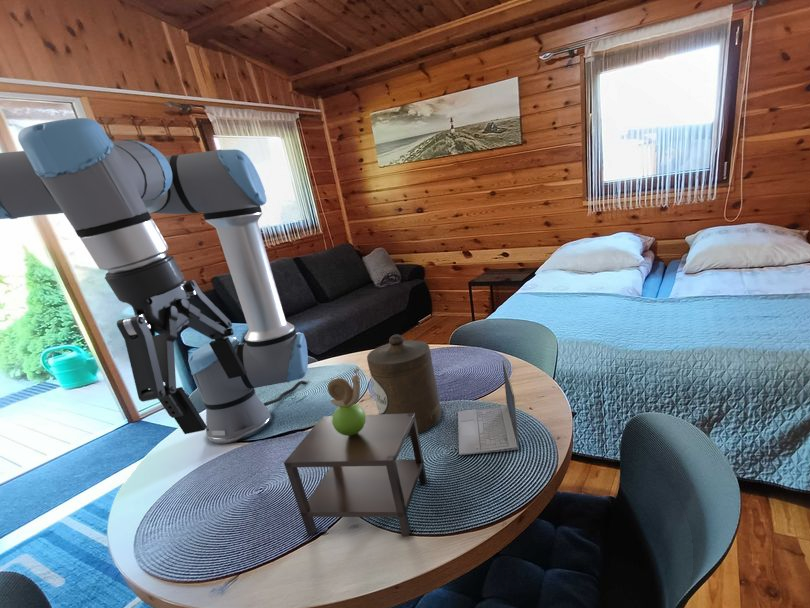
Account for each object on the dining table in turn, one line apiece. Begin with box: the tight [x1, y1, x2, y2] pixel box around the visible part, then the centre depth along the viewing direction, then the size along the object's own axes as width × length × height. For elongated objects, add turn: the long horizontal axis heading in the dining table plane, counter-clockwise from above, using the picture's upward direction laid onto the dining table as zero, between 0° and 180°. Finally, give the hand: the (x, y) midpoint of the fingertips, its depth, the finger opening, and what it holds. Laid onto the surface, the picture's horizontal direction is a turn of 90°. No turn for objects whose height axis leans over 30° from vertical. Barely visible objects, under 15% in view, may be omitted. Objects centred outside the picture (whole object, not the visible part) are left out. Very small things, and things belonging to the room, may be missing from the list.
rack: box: [283, 413, 428, 537], centre depth 76 cm, size 14×18×15 cm
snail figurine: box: [327, 367, 366, 436], centre depth 72 cm, size 5×6×12 cm
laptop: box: [457, 359, 520, 456], centre depth 95 cm, size 18×12×13 cm
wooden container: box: [366, 333, 442, 436], centre depth 102 cm, size 15×15×22 cm
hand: (219, 400), depth 63 cm, fingers open, 13 cm apart
